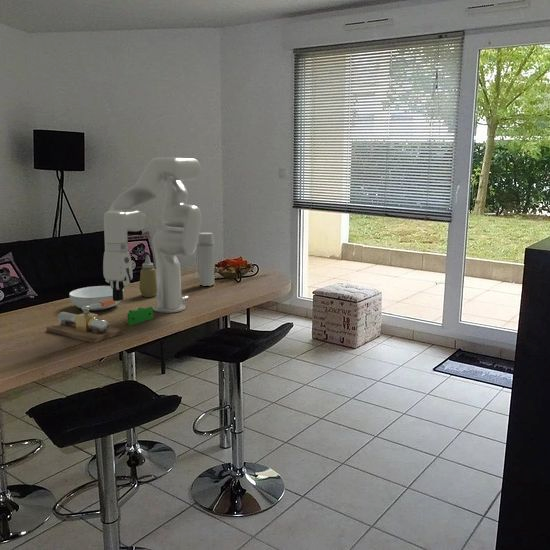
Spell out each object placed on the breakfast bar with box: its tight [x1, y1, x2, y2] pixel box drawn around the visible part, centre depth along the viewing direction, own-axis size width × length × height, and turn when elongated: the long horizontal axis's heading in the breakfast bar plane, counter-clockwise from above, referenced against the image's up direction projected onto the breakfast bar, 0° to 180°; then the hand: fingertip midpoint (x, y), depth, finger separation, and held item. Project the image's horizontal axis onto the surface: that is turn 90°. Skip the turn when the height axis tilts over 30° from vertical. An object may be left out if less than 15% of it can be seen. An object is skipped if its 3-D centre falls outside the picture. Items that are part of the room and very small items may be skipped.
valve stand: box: [46, 322, 122, 344], centre depth 200 cm, size 12×24×2 cm, turn 58°
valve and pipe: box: [57, 311, 110, 334], centre depth 199 cm, size 5×22×5 cm, turn 58°
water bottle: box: [194, 232, 215, 286], centre depth 272 cm, size 9×8×25 cm
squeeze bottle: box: [139, 254, 157, 298], centre depth 252 cm, size 8×8×18 cm
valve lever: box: [81, 299, 117, 315], centre depth 202 cm, size 13×3×3 cm, turn 148°
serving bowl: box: [68, 285, 125, 311], centre depth 233 cm, size 21×21×7 cm
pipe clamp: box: [127, 306, 154, 326], centre depth 214 cm, size 11×4×5 cm, turn 145°
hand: (118, 300), depth 200 cm, fingers closed
